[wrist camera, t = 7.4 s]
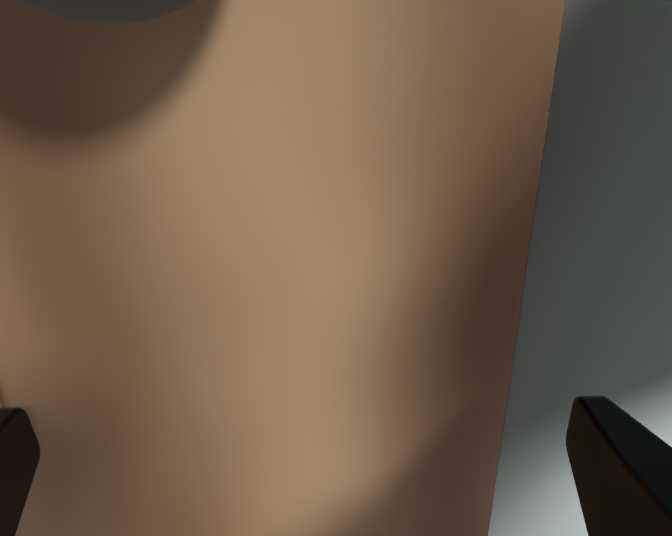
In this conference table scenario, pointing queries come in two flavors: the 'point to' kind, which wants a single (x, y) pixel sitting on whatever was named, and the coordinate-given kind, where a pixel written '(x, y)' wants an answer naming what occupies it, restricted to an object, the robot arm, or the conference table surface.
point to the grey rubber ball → (106, 9)
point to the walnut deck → (268, 261)
